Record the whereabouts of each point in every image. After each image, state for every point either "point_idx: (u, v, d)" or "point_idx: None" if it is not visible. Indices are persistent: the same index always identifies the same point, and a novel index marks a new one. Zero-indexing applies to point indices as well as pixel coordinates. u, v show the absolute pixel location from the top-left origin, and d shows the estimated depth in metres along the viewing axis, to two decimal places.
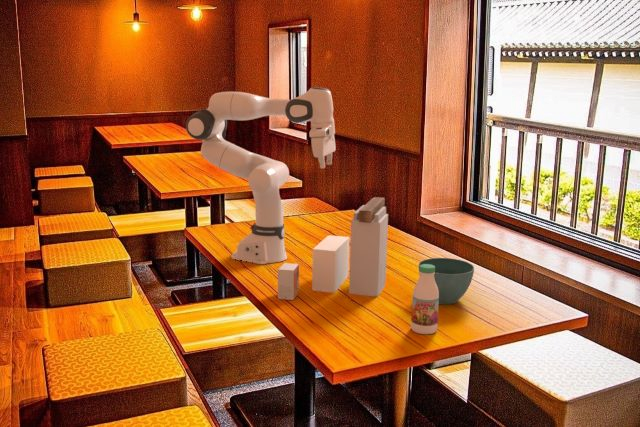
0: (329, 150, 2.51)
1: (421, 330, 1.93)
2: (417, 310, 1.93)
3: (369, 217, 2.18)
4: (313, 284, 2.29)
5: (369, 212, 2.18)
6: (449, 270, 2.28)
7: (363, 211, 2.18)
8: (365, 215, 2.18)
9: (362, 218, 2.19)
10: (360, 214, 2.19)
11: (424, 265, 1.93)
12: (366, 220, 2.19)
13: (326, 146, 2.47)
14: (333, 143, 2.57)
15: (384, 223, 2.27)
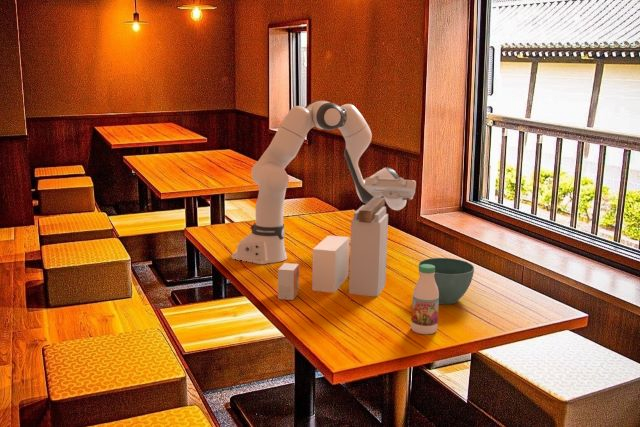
0: (389, 188, 2.59)
1: (421, 330, 1.93)
2: (417, 310, 1.93)
3: (369, 217, 2.18)
4: (313, 284, 2.29)
5: (369, 212, 2.18)
6: (449, 270, 2.28)
7: (363, 211, 2.18)
8: (365, 215, 2.18)
9: (362, 218, 2.19)
10: (360, 214, 2.19)
11: (424, 265, 1.93)
12: (366, 220, 2.19)
13: (400, 190, 2.60)
14: (373, 188, 2.63)
15: (384, 223, 2.27)
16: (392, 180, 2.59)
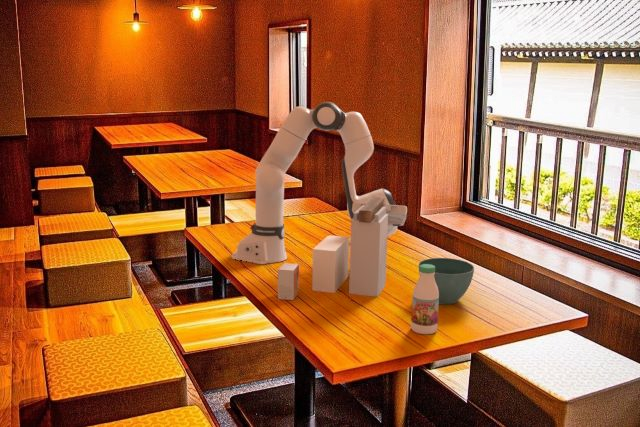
0: None
1: (421, 330, 1.93)
2: (417, 310, 1.93)
3: (369, 217, 2.18)
4: (313, 284, 2.29)
5: (369, 212, 2.18)
6: (449, 270, 2.28)
7: (363, 211, 2.18)
8: (365, 215, 2.18)
9: (362, 218, 2.19)
10: (360, 214, 2.19)
11: (424, 265, 1.93)
12: (366, 220, 2.19)
13: (390, 216, 2.42)
14: None
15: (384, 223, 2.27)
16: None
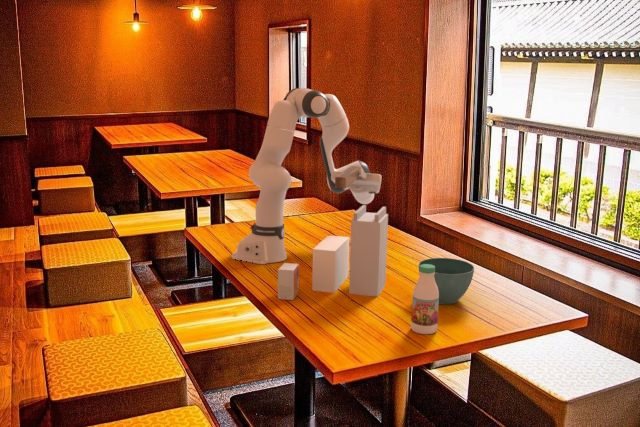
0: (355, 181, 2.63)
1: (421, 330, 1.93)
2: (417, 310, 1.93)
3: (344, 183, 2.40)
4: (313, 284, 2.29)
5: (344, 178, 2.39)
6: (449, 270, 2.28)
7: (339, 178, 2.40)
8: (341, 181, 2.40)
9: (338, 184, 2.40)
10: (336, 180, 2.40)
11: (424, 265, 1.93)
12: (341, 186, 2.40)
13: (366, 184, 2.63)
14: None
15: (384, 223, 2.27)
16: None
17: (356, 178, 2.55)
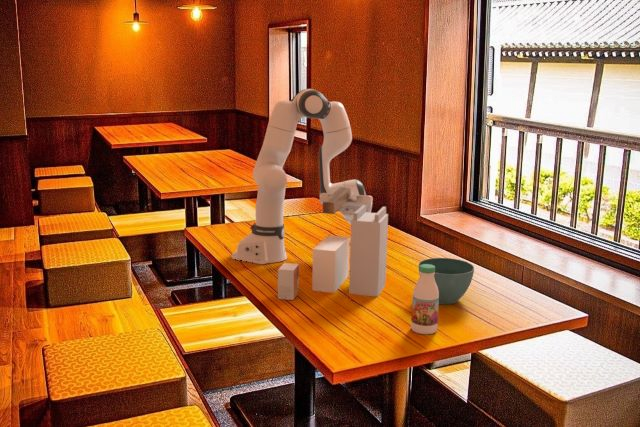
0: (345, 204, 2.49)
1: (421, 330, 1.93)
2: (417, 310, 1.93)
3: (332, 208, 2.26)
4: (313, 284, 2.29)
5: (332, 204, 2.26)
6: (449, 270, 2.28)
7: (326, 203, 2.26)
8: (328, 207, 2.26)
9: (326, 209, 2.27)
10: (324, 206, 2.27)
11: (424, 265, 1.93)
12: (330, 211, 2.27)
13: (356, 206, 2.50)
14: None
15: (384, 223, 2.27)
16: None
17: (345, 201, 2.42)
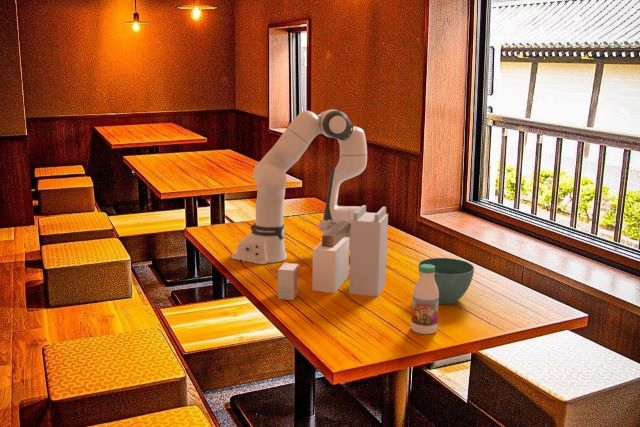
0: None
1: (421, 330, 1.93)
2: (417, 310, 1.93)
3: (331, 242, 2.29)
4: (313, 284, 2.29)
5: (331, 237, 2.28)
6: (449, 270, 2.28)
7: (326, 236, 2.29)
8: (328, 240, 2.29)
9: (325, 243, 2.30)
10: (323, 239, 2.29)
11: (424, 265, 1.93)
12: (329, 245, 2.29)
13: None
14: None
15: (384, 223, 2.27)
16: None
17: (345, 234, 2.45)
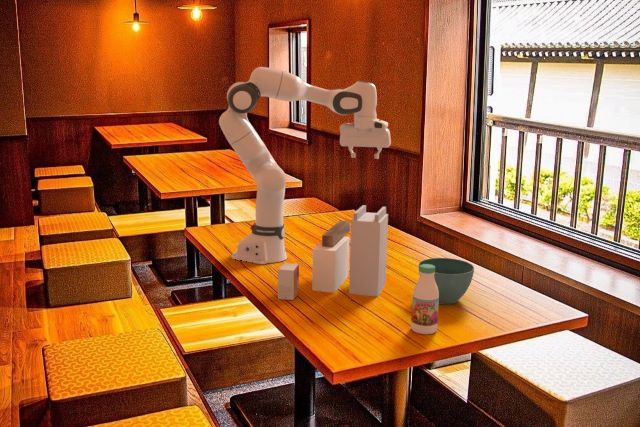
0: None
1: (421, 330, 1.93)
2: (417, 310, 1.93)
3: (331, 242, 2.29)
4: (313, 284, 2.29)
5: (331, 237, 2.28)
6: (449, 270, 2.28)
7: (326, 236, 2.29)
8: (328, 240, 2.29)
9: (325, 243, 2.30)
10: (323, 239, 2.29)
11: (424, 265, 1.93)
12: (329, 245, 2.29)
13: None
14: None
15: (384, 223, 2.27)
16: None
17: (345, 234, 2.45)
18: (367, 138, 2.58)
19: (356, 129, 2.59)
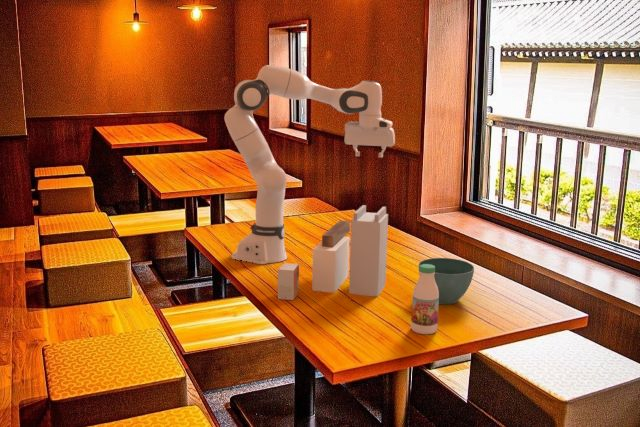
0: None
1: (421, 330, 1.93)
2: (417, 310, 1.93)
3: (331, 242, 2.29)
4: (313, 284, 2.29)
5: (331, 237, 2.28)
6: (449, 270, 2.28)
7: (326, 236, 2.29)
8: (328, 240, 2.29)
9: (325, 243, 2.30)
10: (323, 239, 2.29)
11: (424, 265, 1.93)
12: (329, 245, 2.29)
13: None
14: None
15: (384, 223, 2.27)
16: None
17: (345, 234, 2.45)
18: (371, 137, 2.62)
19: (361, 128, 2.62)
